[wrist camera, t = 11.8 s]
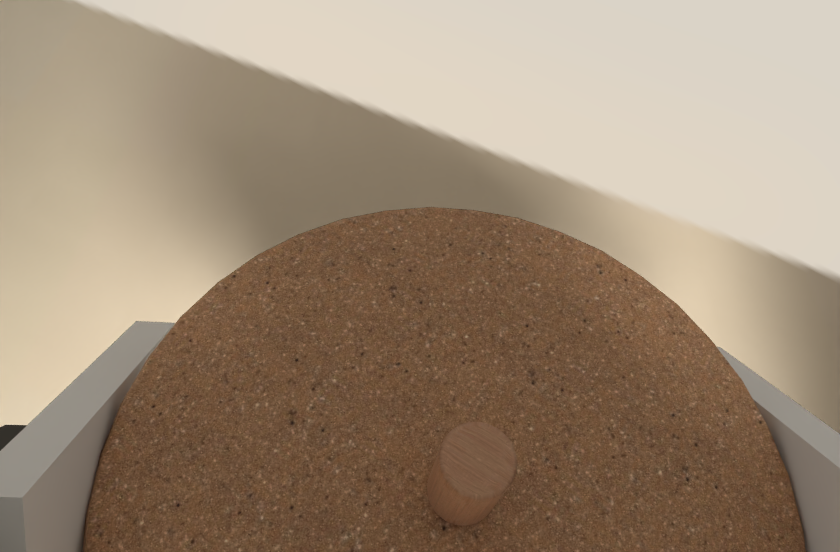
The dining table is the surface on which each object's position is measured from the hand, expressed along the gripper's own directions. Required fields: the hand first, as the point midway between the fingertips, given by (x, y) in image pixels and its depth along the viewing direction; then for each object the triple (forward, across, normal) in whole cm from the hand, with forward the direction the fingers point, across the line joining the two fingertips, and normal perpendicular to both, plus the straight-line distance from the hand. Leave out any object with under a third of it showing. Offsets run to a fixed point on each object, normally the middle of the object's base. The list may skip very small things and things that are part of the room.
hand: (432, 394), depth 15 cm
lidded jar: (+1, 0, -5) cm, 5 cm away
